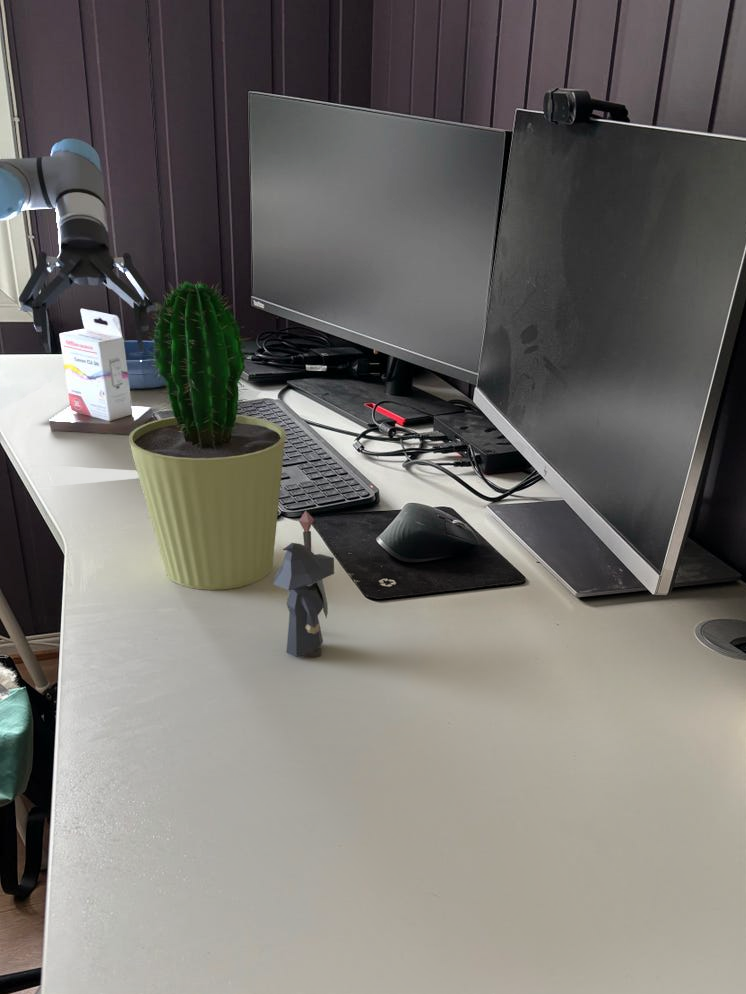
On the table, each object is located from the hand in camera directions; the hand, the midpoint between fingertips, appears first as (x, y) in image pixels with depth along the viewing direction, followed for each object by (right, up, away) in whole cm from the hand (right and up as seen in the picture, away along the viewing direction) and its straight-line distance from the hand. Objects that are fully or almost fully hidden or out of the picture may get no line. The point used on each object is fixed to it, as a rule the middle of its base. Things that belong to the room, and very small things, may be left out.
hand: (94, 347), depth 149 cm
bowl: (-1, +1, +22) cm, 22 cm away
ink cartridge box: (+2, -11, -2) cm, 11 cm away
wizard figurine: (+43, -46, -59) cm, 86 cm away
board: (+2, -12, -2) cm, 12 cm away
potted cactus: (+32, -38, -45) cm, 66 cm away
